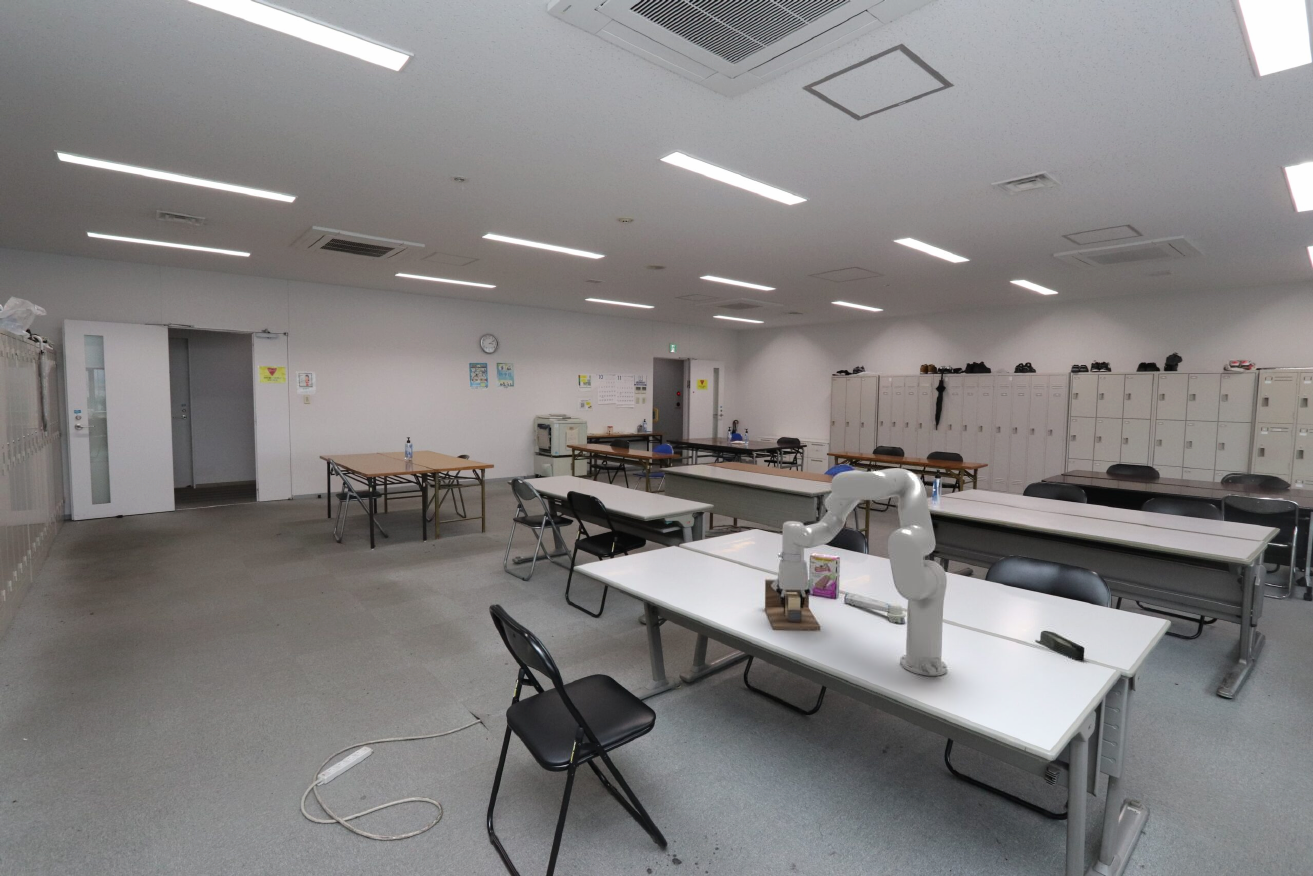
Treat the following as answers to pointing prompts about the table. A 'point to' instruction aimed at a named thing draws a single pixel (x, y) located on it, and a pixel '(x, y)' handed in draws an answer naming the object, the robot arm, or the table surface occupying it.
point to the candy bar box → (824, 575)
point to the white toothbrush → (877, 607)
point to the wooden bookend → (796, 618)
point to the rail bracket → (792, 602)
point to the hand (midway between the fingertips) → (792, 606)
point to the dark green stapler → (1061, 645)
